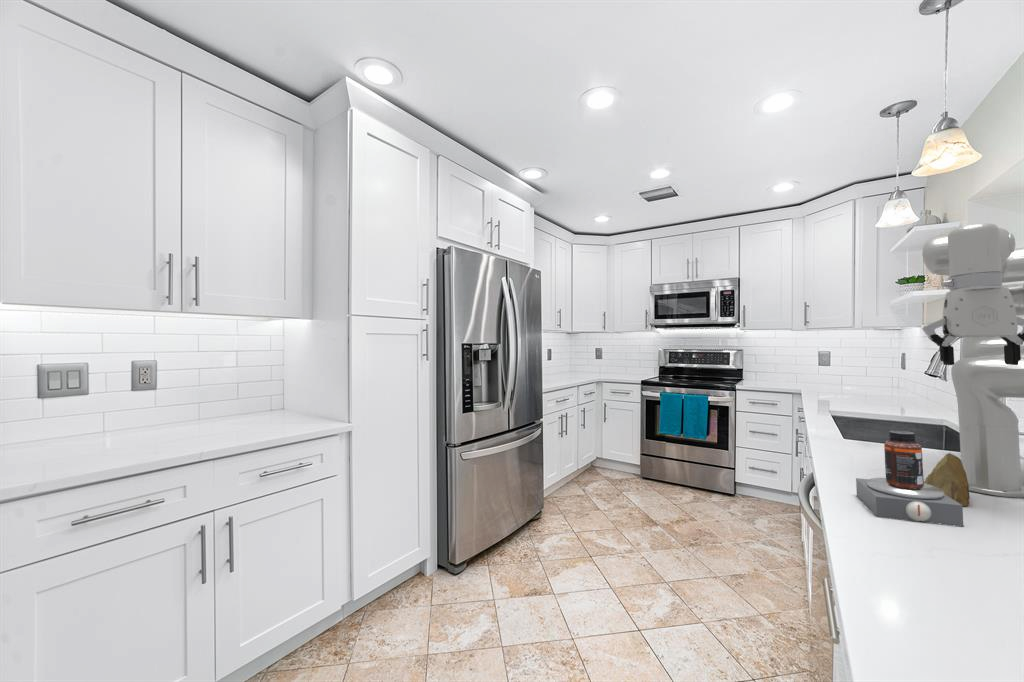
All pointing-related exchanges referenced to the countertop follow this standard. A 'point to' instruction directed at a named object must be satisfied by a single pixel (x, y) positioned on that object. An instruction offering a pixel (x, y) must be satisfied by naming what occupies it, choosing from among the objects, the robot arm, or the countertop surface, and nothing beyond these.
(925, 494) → the scale pan
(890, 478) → the supplement bottle
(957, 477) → the rock
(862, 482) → the scale base
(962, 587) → the countertop surface
